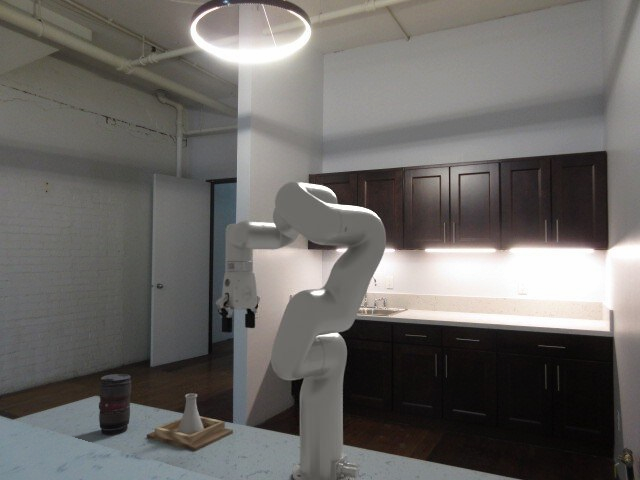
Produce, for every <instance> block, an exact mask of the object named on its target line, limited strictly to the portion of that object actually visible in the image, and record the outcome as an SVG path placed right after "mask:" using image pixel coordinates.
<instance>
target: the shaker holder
mask: <svg viewBox="0 0 640 480" xmlns="http://www.w3.org/2000/svg"><path fill="white" fill-rule="evenodd" d="M199 416H200V415H199ZM200 419H201V422H202V424H203V427H204V429H203V430H200V431H198V432H196V433H193V434H191V435H188V434H184V433H180V432H177V431H178V428H179V425H180V423H181V420H182V417H180V418H178V419H174V420H172V421H170V422H167V423H164V424H162V425H159V426H156V427H154V431H152V432H150V433H147V434H146V438H147V439H149V440H153V441H157V442H161V443H164V444H168V445H172V446H175V447H180V448H181V449H182V448H183V449H187V450H190V451H195V452H197V451H198V450H200V449H204V448H205V447H208V446H209V445H211V444H213V443H215V442H217V441H219V440H222V439H223V438H226V437H227V436H230V435H232V434H234V430H233V429H230V428H226V427H225V425H226V424H225V423H226V422H225V421H223V420H218V419H213V418H210V417H205V416H200Z"/></svg>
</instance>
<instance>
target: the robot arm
mask: <svg viewBox="0 0 640 480" xmlns="http://www.w3.org/2000/svg"><path fill="white" fill-rule="evenodd" d="M274 206H275V207H274V210H273V212H272V221H262V220H261V221H260V220H257V221H256V220H242V221H239V222H238V223H230V224H228V225H227V226H226V228H225V265H224V268H225V271H224V272H225V273H224V275H223V283H222V291H221V292H222V293H221V297H220V298H218V300H216V301H215V305H216V308H217V312H218V313H219V317H220V318H221V333H227V334H230V333H233V317H231V316H232V315H233V313H234V311H237V310H238V311H240V310H241V311H242V310H244V311H245V312H246V313H245V315H244V328H246V329H255V328H256V314H257V310H258V308H259V303H260V300H261V298H260V297H259V296H258V293H257V292H258V291H257V283H256V275H255V273H254V272H253V271H254V268H253V266H254V250H278V249H282V248H284V247H287V246H289V245H291V244H293V243H294V242H296V241H297V239H298V237H299V235H301V236H302V237H304V238H306V240H308V241H309V242H312V243H314V244H316V245H321V246H340V247H341V246H343V247H346V246H347V249H346V250H345V252H344V253H342V254H341V256H339V258H337V260H336V261H335V262H334V264H333V266H332V268H331V269H330V274H329V275H328V277H327V281H326V282H325V285H323V287H321V288H313V289H304V290H300V291H299V292H297V293H295V294H294V295H293V296H292V297H291V299H289V301H288V303H287V304H286V307H285V309H284V312H283V315H282V318H281V321H280V323H279V325H278V326H279V327H278V329H277V331H276V335H275V338H274V340H273V344H272V347H271V348H272V349H271V353H270V354H271V355H270V359H271V361H270V362H271V367H272V370H273V372H274V374H276V376H277V377H279V379H280V378H281V379H282V380H285V381H296V380H301V379H303V381H302V384H301V387H300V391H299V463H297V464H296V465H295V466H294V467H293V469H292V478H293V479H294V480H349V479H350V478H353V479H358V477H359V474H360V470H359V464H358V463H353V462H349V461H348V453H344V430H343V429H344V428H343V427H344V424H343V422H344V421H343V419H344V418H343V417H344V416H343V415H344V413H343V410H344V409H343V408H344V406H343V404H344V401H343V399H344V398H343V397H344V394H343V393H344V391H343V390H344V375H345V371H346V364H347V358H348V357H347V356H348V349H347V345H346V341H345V339H344V338H343V336H342V335H341V334H340V333H343V332H345V331H348V330H350V328H351V327H352V326H353V324H354V322H355V320H356V318H357V316H358V313H359V312H360V308H361V306H362V304H363V301H364V298H365V296H366V294H367V292H368V288H369V286H370V283H371V281H372V279H373V277H374V275H375V272H376V271H377V269H378V267H379V265H380V263H381V261H382V258H383V256H384V254H385V250H386V245H387V234H386V228H385V226H384V223H383V221H382V219H381V218H380V217H379V216H378V214H377V213H375V212H374V211H372V210H371V209H369V208H365V207H363V206H357V205H348V204H339V202H338V197H337V196H336V193H334V192H333V190H332V189H330V188H329V187H327V186H324V185H322V184H314V183H308V182H301V181H289V182H287V183H285V184H283V185H282V186H281V187H280V188H279V189H278V191H277V192H276V196H275V199H274Z"/></svg>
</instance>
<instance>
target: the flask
mask: <svg viewBox="0 0 640 480" xmlns="http://www.w3.org/2000/svg"><path fill="white" fill-rule="evenodd" d="M197 397H198V394H197V393H187V394H185V395H184V398H185V405H184V411H183V415H182V417H181V418H182V420H181V423H180V425H179V428H178V431H177V432H180V433H184V434H188V435H191V434H193V433H196V432H198V431H200V430H203V429H204V427H203V424H202V422H201V419H200V414H199V411H198V410H199V409H198V406H197Z"/></svg>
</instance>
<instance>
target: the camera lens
mask: <svg viewBox="0 0 640 480" xmlns="http://www.w3.org/2000/svg"><path fill="white" fill-rule="evenodd" d="M131 393H132V380H131V375H129V374H125V373H115V374H108V375H104V376H102V377H101V378H100V382H99V402H98V410H99V414H98V421H99V428H100V429H101V434H102V435H105V436H113V435H119V434H122V433H124V432H126V431H127V430H128V425H129V424H130V418H131Z"/></svg>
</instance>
